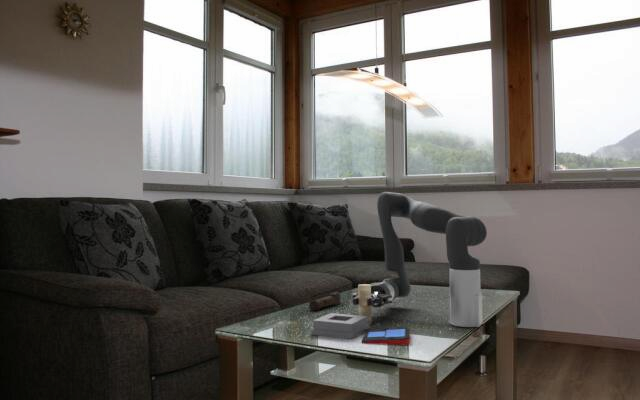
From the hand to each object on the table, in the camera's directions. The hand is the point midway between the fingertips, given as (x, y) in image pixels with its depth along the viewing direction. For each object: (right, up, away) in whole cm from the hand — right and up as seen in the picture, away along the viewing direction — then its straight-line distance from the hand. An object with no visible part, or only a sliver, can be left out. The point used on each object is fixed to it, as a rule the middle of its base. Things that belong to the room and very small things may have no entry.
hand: (361, 302), depth 163 cm
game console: (+6, -7, -17) cm, 19 cm away
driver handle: (+1, -7, +2) cm, 8 cm away
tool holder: (-7, -7, -9) cm, 13 cm away
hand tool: (-11, -8, +32) cm, 35 cm away
